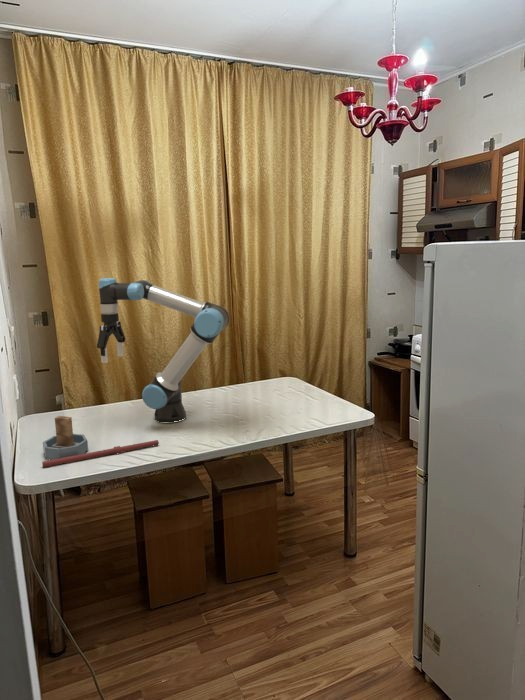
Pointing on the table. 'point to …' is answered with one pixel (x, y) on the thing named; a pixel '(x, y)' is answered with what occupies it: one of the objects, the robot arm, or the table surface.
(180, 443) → the table surface
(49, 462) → the rolling pin
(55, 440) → the octagonal blue tray
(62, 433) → the flat wood plank
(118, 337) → the robot arm
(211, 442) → the table surface
